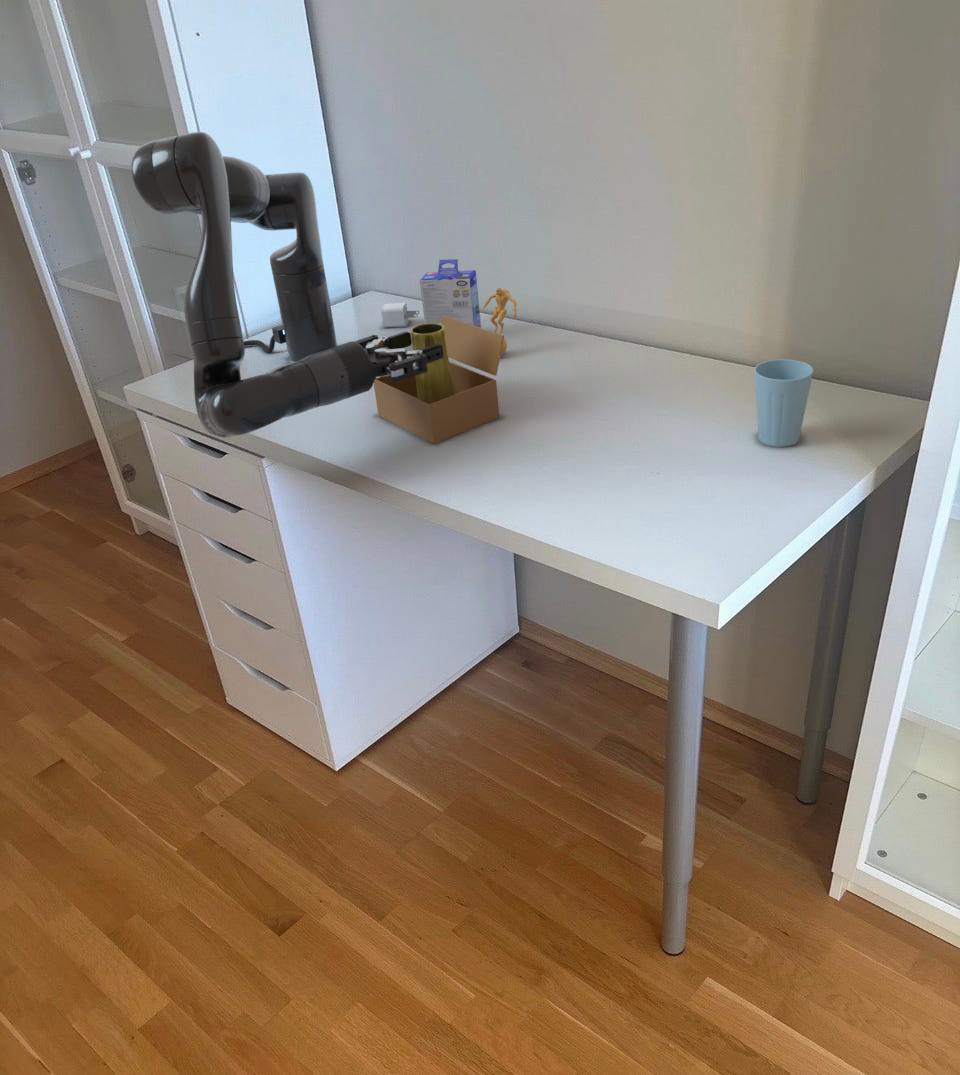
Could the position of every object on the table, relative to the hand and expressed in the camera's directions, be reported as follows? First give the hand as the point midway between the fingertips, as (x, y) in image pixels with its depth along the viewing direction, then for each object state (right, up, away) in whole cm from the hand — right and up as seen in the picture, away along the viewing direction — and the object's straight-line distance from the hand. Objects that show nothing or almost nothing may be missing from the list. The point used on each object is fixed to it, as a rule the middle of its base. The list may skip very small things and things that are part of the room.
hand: (425, 343), depth 151 cm
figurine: (+12, +3, +28) cm, 31 cm away
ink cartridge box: (+4, +8, +38) cm, 39 cm away
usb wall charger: (-7, +13, +48) cm, 50 cm away
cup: (+51, -16, -11) cm, 54 cm away
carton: (+2, -10, +7) cm, 12 cm away
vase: (+2, -10, +6) cm, 12 cm away
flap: (+6, +1, +5) cm, 8 cm away
